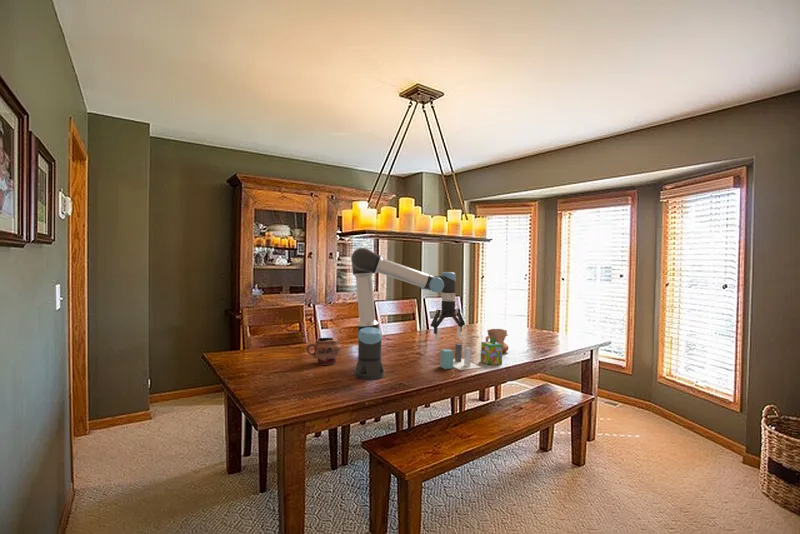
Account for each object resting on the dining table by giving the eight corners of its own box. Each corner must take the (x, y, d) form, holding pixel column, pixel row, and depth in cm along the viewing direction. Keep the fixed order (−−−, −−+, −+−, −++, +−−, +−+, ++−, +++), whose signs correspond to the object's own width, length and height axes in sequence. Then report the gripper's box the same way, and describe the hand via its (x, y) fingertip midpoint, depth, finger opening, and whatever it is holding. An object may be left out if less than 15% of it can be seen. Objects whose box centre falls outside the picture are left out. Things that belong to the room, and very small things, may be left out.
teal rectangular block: (444, 369, 223) (445, 351, 223) (440, 366, 228) (440, 349, 228) (453, 368, 225) (453, 351, 225) (448, 365, 230) (448, 348, 230)
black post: (457, 362, 237) (457, 344, 237) (455, 360, 239) (455, 343, 239) (461, 361, 238) (461, 344, 238) (458, 360, 240) (459, 343, 240)
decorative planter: (309, 368, 219) (309, 342, 219) (303, 362, 230) (303, 338, 229) (344, 364, 229) (345, 339, 228) (337, 359, 239) (337, 335, 239)
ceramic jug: (499, 348, 277) (499, 327, 277) (514, 352, 265) (514, 330, 264) (478, 351, 269) (478, 329, 268) (493, 356, 256) (493, 333, 256)
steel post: (466, 366, 228) (467, 348, 228) (464, 365, 230) (464, 347, 230) (470, 366, 229) (471, 348, 229) (468, 365, 231) (468, 347, 231)
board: (459, 370, 222) (459, 369, 222) (441, 361, 240) (441, 360, 240) (481, 368, 227) (481, 367, 227) (462, 359, 246) (462, 358, 246)
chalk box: (480, 361, 242) (480, 336, 241) (493, 360, 245) (493, 335, 245) (489, 365, 233) (490, 339, 233) (502, 364, 237) (503, 338, 236)
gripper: (431, 301, 217) (430, 341, 218) (471, 300, 227) (470, 338, 228) (424, 300, 224) (424, 339, 225) (464, 298, 234) (463, 336, 235)
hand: (447, 338), depth 226 cm, fingers open, 13 cm apart
